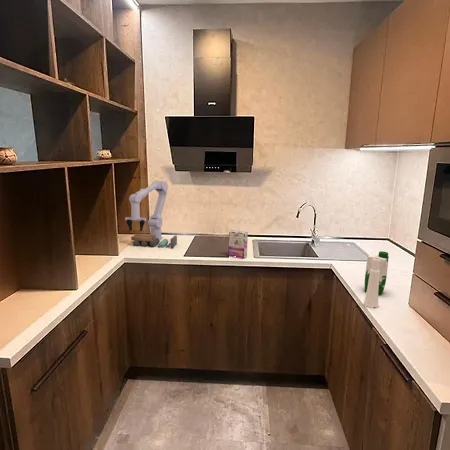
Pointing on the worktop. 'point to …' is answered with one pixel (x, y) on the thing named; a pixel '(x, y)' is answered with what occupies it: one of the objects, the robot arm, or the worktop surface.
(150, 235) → the slab
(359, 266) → the worktop surface
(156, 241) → the roller bed
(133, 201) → the robot arm
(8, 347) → the worktop surface
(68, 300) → the worktop surface
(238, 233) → the candy bar box
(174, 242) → the bar
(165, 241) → the roller
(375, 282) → the cosmetic bottle
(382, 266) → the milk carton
